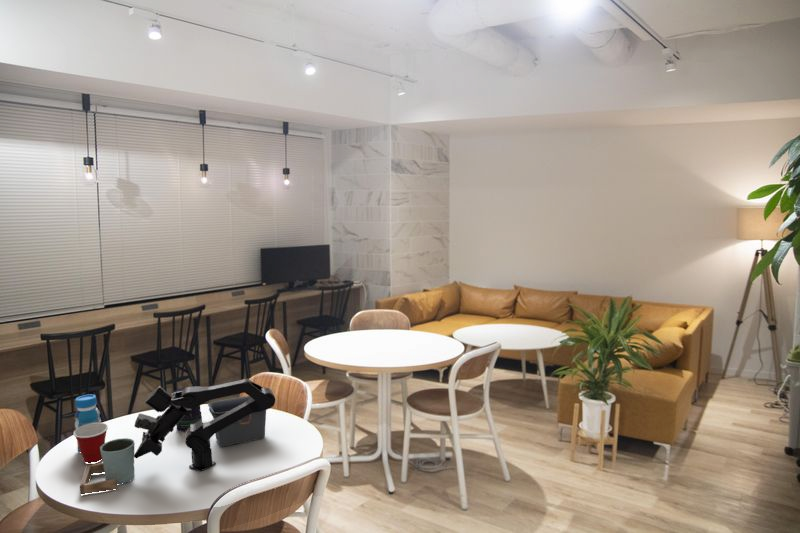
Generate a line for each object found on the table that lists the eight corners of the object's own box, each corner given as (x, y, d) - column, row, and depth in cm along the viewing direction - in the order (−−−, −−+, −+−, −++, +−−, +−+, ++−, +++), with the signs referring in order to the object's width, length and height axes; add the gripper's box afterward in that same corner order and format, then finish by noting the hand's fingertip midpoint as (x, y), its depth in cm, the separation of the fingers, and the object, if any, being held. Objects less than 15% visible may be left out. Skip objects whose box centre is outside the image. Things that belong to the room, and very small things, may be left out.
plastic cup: (72, 470, 202) (69, 436, 200) (80, 457, 212) (77, 424, 210) (107, 465, 205) (104, 432, 203) (113, 452, 215) (110, 420, 213)
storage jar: (175, 425, 240) (172, 389, 238) (200, 420, 244) (198, 385, 242) (177, 433, 231) (174, 396, 229) (203, 429, 235) (201, 392, 233)
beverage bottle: (90, 456, 212) (85, 402, 210) (71, 453, 215) (66, 400, 213) (108, 446, 220) (104, 394, 218) (90, 443, 223) (86, 392, 220)
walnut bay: (121, 469, 201) (120, 460, 201) (116, 490, 187) (115, 480, 187) (87, 475, 198) (86, 465, 197) (80, 496, 184) (79, 486, 183)
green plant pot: (128, 469, 201) (125, 435, 200) (143, 478, 195) (140, 443, 193) (97, 480, 194) (94, 445, 192) (111, 490, 187) (108, 454, 186)
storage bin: (264, 427, 235) (262, 392, 234) (275, 441, 222) (273, 404, 220) (208, 438, 225) (206, 402, 224) (217, 454, 212) (214, 415, 210)
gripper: (150, 396, 204) (117, 432, 201) (147, 415, 186) (111, 455, 184) (176, 415, 207) (144, 451, 205) (176, 436, 190) (140, 474, 187)
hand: (134, 457), depth 195 cm, fingers closed, pressing on green plant pot
